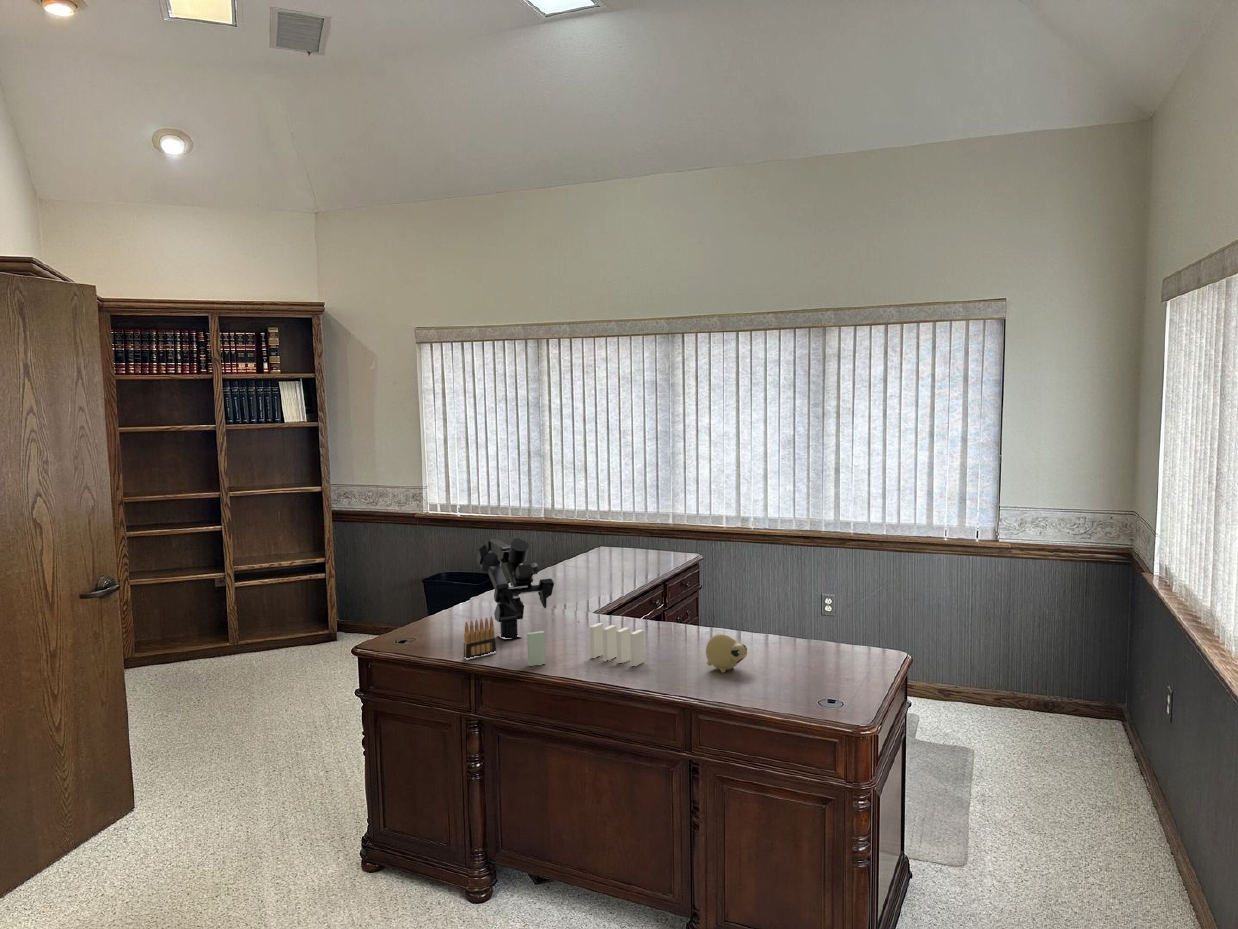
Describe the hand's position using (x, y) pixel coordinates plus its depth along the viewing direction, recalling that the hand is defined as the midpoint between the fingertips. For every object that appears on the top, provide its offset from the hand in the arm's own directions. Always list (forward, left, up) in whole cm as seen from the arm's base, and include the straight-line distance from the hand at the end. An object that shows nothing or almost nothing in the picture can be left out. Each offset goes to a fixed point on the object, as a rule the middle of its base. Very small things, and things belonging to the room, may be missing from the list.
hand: (531, 609), depth 267 cm
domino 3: (+15, +19, -15) cm, 29 cm away
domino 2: (+11, +17, -15) cm, 25 cm away
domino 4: (+20, +21, -15) cm, 33 cm away
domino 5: (+24, +23, -15) cm, 37 cm away
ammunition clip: (-11, -13, -16) cm, 23 cm away
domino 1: (+7, -2, -15) cm, 17 cm away
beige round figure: (+43, +42, -16) cm, 62 cm away
